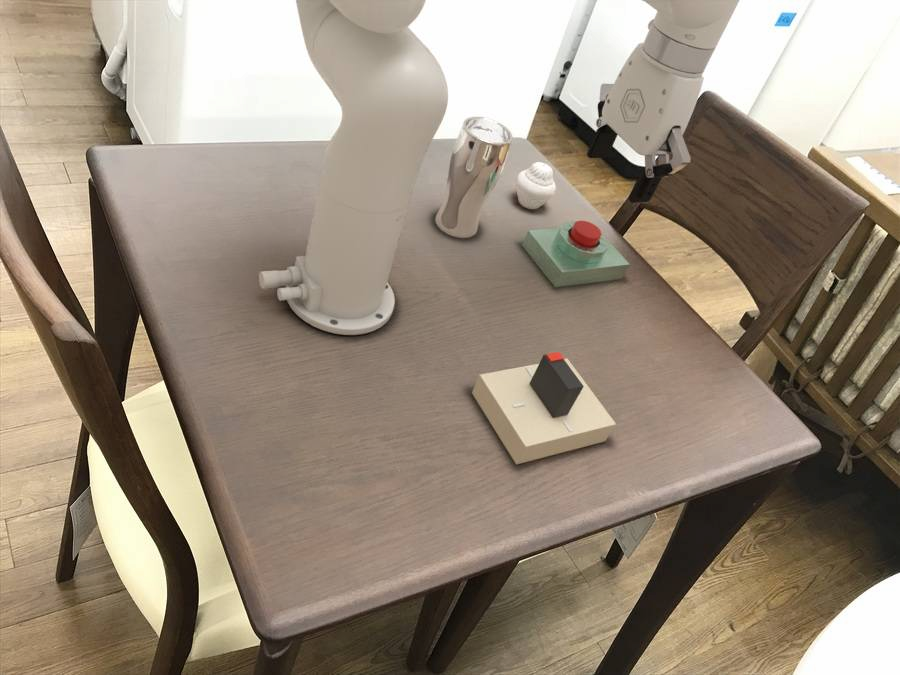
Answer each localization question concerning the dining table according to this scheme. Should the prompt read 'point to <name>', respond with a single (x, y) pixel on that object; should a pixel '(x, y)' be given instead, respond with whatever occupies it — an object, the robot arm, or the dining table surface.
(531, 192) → the muffin
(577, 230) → the button
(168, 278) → the dining table surface
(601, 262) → the housing
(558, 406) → the knob
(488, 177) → the beer glass
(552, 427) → the dial panel
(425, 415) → the dining table surface
